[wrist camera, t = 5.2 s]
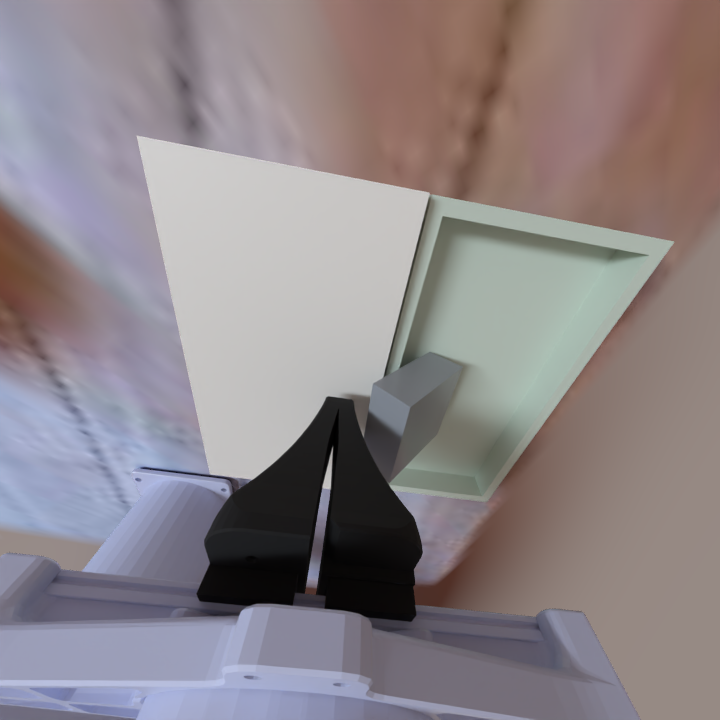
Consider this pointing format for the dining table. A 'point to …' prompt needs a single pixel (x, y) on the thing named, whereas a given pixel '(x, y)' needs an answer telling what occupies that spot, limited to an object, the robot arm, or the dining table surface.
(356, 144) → the dining table surface
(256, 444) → the white board
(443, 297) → the box
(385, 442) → the grey tile
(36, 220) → the dining table surface
